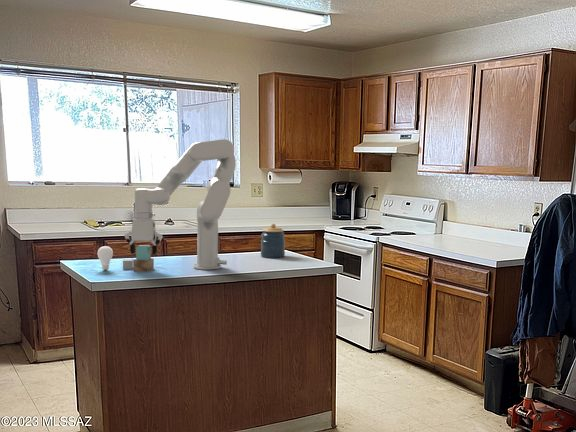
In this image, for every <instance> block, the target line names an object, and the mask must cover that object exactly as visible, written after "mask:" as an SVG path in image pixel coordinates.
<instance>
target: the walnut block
mask: <svg viewBox="0 0 576 432" xmlns="http://www.w3.org/2000/svg"><path fill="white" fill-rule="evenodd" d="M154 260H155V259H154V257H151V259H149V260H136V258H135V259H133V269H132V270H133V272H147V271H148V272H151V271H153V270H154V268H155V264H154V262H155V261H154ZM148 272H147V273H148Z"/></svg>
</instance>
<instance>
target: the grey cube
mask: <svg viewBox="0 0 576 432" xmlns="http://www.w3.org/2000/svg"><path fill="white" fill-rule="evenodd" d="M133 260H134V259H133V258H130V259H129V258H127V259H123V260H122V270H133Z"/></svg>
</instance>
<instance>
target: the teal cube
mask: <svg viewBox="0 0 576 432" xmlns="http://www.w3.org/2000/svg"><path fill="white" fill-rule="evenodd" d="M135 255H136V256H135V257H136V258H135V259H136V260H149V259H151V258H152V257H151V256H152V246H151V245H149V244H148V245H147V244H142V245H141V244H139V245H137V246H135Z"/></svg>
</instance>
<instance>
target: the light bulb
mask: <svg viewBox="0 0 576 432" xmlns="http://www.w3.org/2000/svg"><path fill="white" fill-rule="evenodd" d="M113 256H114V251H113V249H112V248H111V247H110V246H107V245H104V246H101V247H99V248H98V250H97V257H98V260H100V261H99V262H100V264H101V269H102V270H103V271H104V272H105V271H108V270H109V268H110V262H111V260H112V258H113Z"/></svg>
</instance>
